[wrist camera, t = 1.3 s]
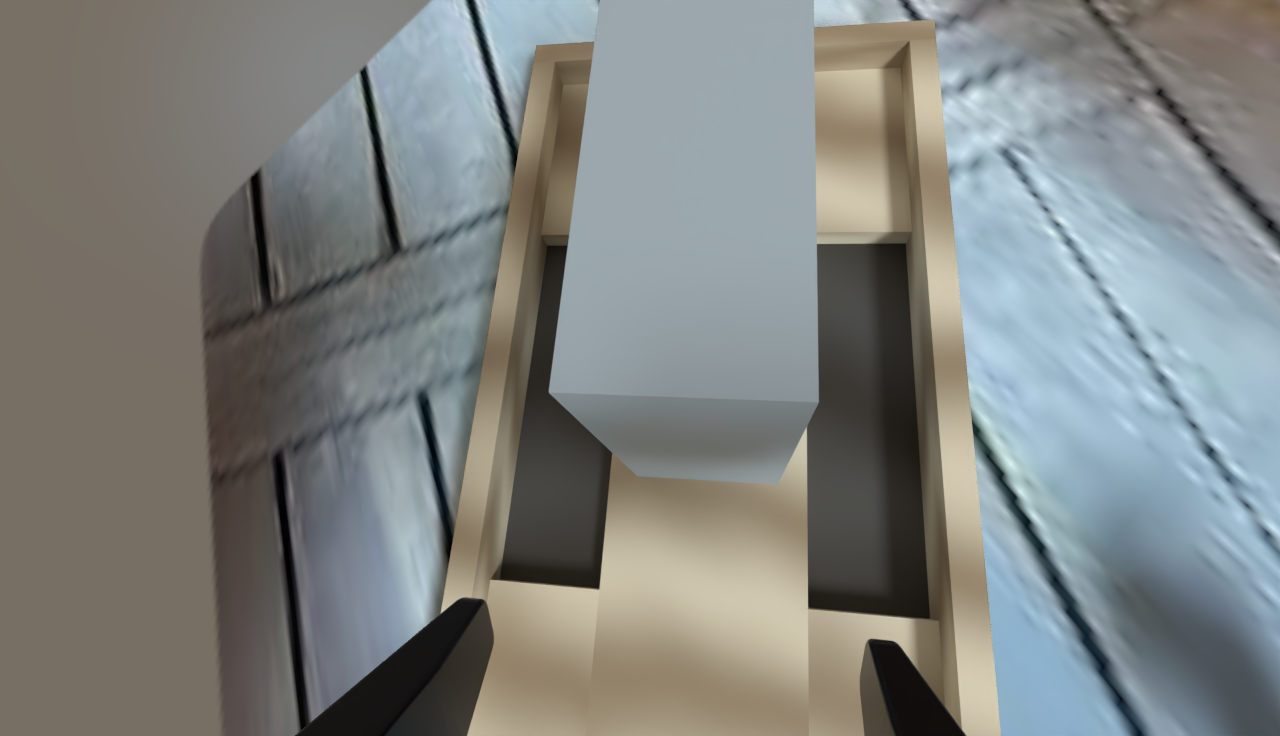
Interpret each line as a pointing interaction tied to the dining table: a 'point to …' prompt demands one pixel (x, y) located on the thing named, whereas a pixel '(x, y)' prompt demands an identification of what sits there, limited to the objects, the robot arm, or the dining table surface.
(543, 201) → the box
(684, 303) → the block
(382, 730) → the robot arm
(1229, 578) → the dining table surface
